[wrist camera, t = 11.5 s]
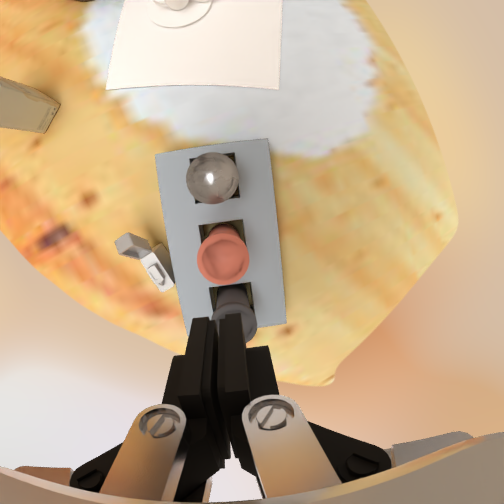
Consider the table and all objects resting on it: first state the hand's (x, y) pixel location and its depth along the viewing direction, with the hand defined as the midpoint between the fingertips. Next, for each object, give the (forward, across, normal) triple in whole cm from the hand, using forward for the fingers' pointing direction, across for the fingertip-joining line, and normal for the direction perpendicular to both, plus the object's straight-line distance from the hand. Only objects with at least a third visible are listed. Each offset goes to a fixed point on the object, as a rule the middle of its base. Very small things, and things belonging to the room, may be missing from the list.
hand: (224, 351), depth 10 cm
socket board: (+24, 0, +1) cm, 24 cm away
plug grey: (+23, 0, -5) cm, 24 cm away
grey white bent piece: (+24, +8, +2) cm, 25 cm away
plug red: (+22, 0, +1) cm, 22 cm away
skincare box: (+24, +22, -19) cm, 38 cm away
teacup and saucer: (+25, +1, -26) cm, 36 cm away
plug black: (+23, 0, +8) cm, 24 cm away
